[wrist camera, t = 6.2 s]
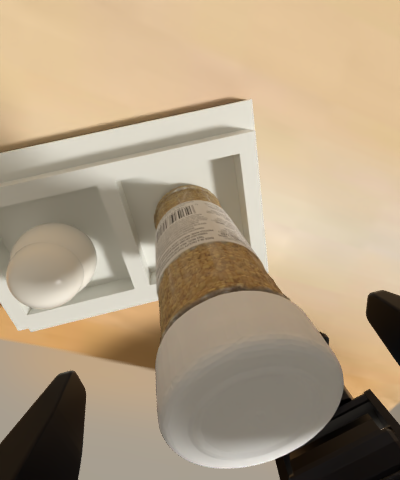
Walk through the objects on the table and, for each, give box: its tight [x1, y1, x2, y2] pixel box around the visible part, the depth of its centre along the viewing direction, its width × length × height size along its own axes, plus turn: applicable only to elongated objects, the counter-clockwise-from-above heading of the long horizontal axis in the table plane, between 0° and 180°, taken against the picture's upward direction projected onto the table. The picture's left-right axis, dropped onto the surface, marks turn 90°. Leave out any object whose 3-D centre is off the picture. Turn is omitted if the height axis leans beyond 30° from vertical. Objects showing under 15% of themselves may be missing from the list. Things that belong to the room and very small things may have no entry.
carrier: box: [0, 99, 268, 332], centre depth 18 cm, size 12×18×3 cm, turn 101°
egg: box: [6, 222, 97, 309], centre depth 16 cm, size 4×4×5 cm
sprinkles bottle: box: [154, 185, 344, 469], centre depth 12 cm, size 5×5×14 cm
